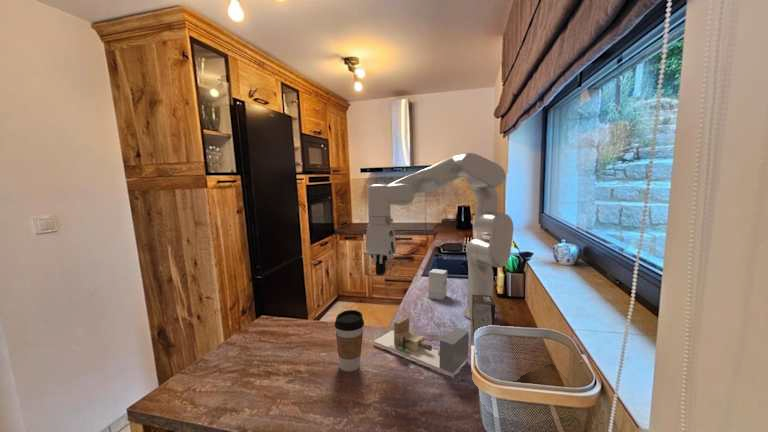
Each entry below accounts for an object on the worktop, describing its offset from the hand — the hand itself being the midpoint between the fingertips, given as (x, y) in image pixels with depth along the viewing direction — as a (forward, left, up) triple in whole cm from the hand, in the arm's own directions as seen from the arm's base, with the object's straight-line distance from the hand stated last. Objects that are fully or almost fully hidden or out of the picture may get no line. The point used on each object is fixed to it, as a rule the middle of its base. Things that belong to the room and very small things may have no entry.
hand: (380, 273), depth 105 cm
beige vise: (+2, +17, -22) cm, 28 cm away
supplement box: (-47, -3, -22) cm, 52 cm away
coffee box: (-14, +31, -22) cm, 40 cm away
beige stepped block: (+3, +16, -20) cm, 26 cm away
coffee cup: (+20, +5, -22) cm, 30 cm away
